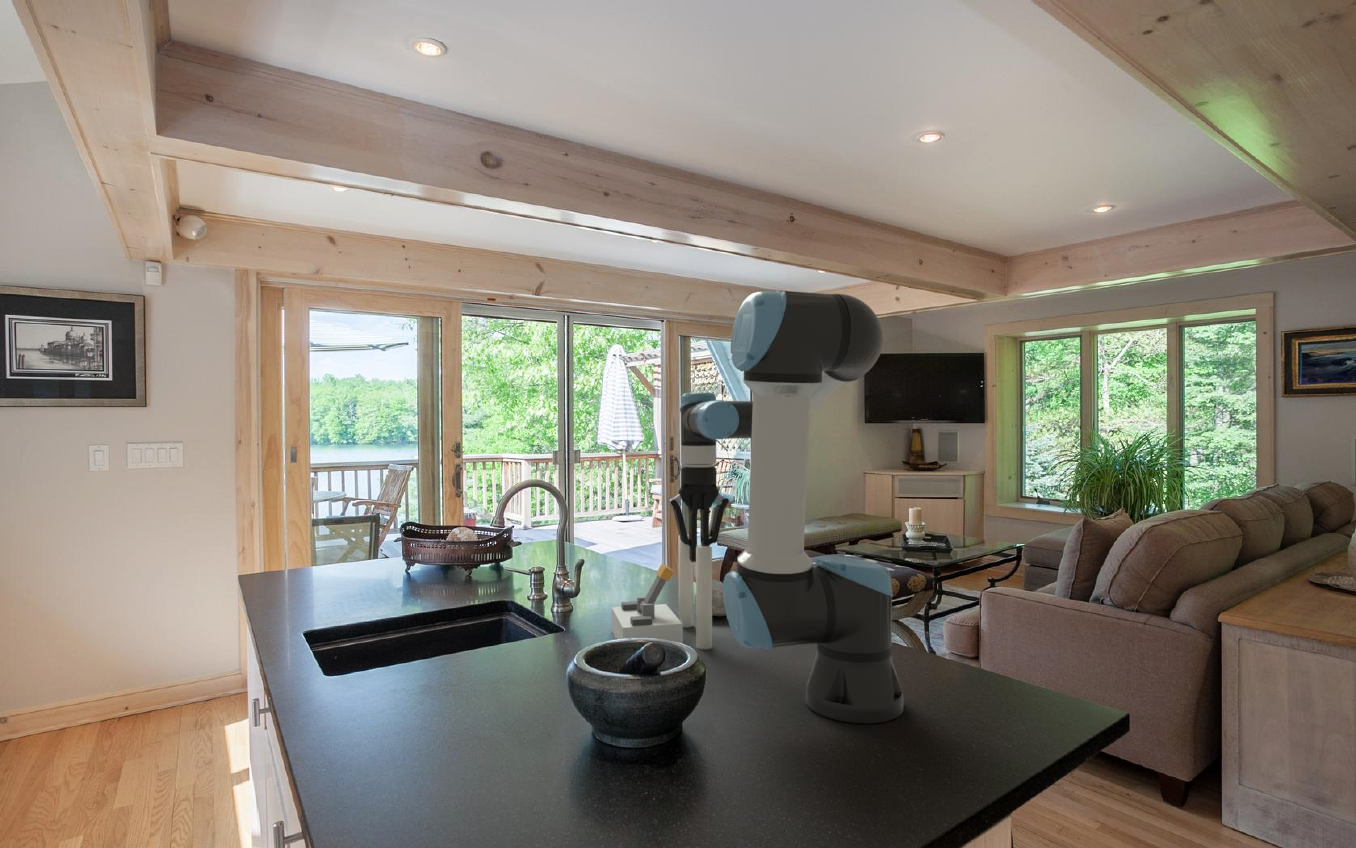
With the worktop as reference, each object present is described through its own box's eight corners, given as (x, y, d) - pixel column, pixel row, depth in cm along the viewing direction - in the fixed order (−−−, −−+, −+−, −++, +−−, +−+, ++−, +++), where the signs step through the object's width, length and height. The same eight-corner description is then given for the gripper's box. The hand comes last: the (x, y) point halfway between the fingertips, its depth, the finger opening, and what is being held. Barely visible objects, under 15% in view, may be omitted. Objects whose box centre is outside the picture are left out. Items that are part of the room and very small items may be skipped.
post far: (694, 627, 159) (694, 536, 159) (680, 628, 158) (680, 537, 158) (691, 623, 162) (690, 534, 162) (677, 624, 161) (676, 534, 161)
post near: (714, 648, 144) (713, 548, 144) (698, 650, 143) (698, 549, 143) (709, 644, 147) (709, 545, 147) (694, 645, 146) (694, 546, 146)
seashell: (727, 606, 159) (738, 557, 171) (680, 612, 164) (694, 564, 176) (743, 633, 164) (752, 584, 175) (697, 638, 168) (709, 590, 180)
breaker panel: (682, 648, 144) (682, 608, 144) (623, 653, 141) (622, 612, 141) (665, 626, 159) (665, 590, 159) (611, 630, 157) (611, 593, 157)
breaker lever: (649, 617, 148) (673, 571, 149) (640, 612, 148) (665, 567, 149) (645, 612, 152) (669, 567, 153) (637, 607, 152) (661, 563, 153)
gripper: (723, 464, 158) (723, 571, 158) (664, 465, 155) (665, 574, 155) (733, 466, 150) (733, 579, 151) (672, 467, 148) (672, 582, 148)
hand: (698, 576), depth 153 cm, fingers closed
